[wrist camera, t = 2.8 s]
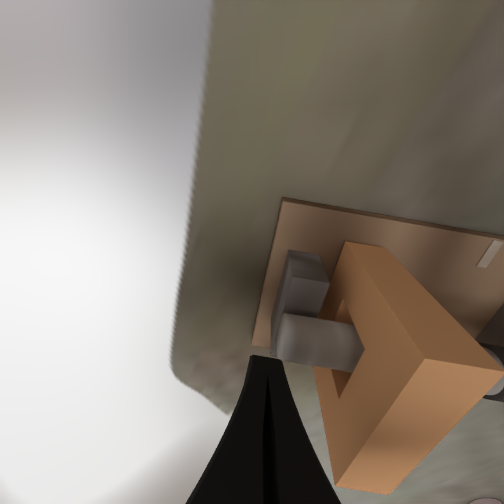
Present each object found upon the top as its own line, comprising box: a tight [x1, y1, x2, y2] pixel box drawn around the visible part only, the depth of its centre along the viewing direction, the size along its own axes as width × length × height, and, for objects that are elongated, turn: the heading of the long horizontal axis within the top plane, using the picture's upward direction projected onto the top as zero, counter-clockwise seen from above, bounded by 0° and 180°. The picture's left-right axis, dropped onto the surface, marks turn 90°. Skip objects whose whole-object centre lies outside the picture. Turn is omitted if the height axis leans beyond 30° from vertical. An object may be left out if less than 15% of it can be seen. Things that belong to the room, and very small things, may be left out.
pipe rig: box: [251, 197, 504, 402], centre depth 15 cm, size 19×12×7 cm, turn 81°
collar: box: [313, 241, 504, 495], centre depth 13 cm, size 2×9×9 cm, turn 171°
